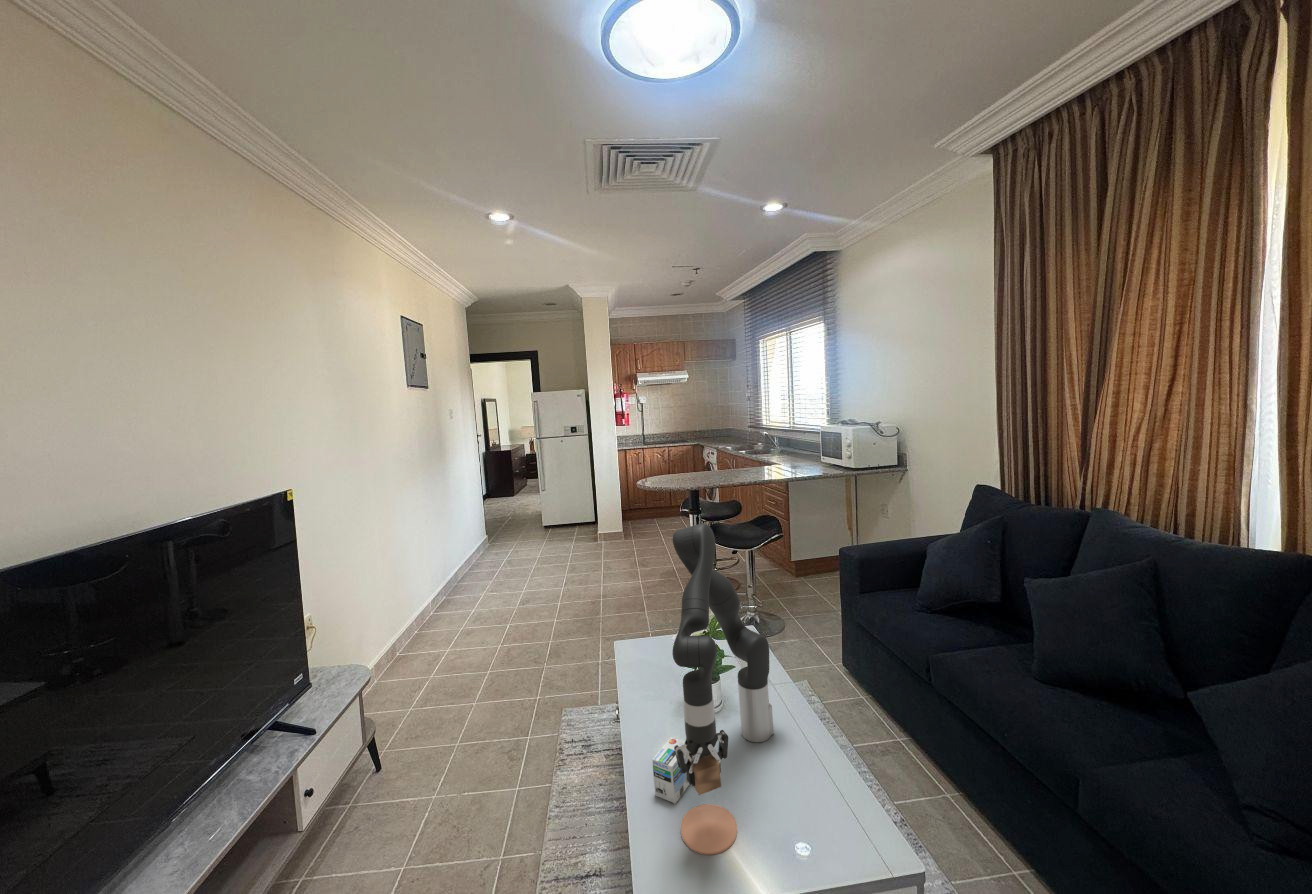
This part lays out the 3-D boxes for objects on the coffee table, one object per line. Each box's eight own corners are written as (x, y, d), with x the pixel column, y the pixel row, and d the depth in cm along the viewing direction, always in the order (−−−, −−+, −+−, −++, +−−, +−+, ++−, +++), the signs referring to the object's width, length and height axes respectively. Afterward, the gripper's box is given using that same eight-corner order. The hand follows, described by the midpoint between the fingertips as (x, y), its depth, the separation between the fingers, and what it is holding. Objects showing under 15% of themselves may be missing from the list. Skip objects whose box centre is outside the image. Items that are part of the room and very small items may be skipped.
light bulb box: (675, 804, 138) (672, 767, 137) (654, 796, 142) (651, 759, 141) (694, 778, 147) (691, 742, 146) (673, 770, 151) (670, 736, 150)
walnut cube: (710, 770, 132) (708, 748, 131) (721, 786, 126) (719, 763, 126) (688, 778, 130) (686, 756, 129) (699, 795, 124) (697, 771, 124)
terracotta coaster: (720, 800, 138) (720, 797, 138) (747, 841, 125) (747, 837, 125) (672, 819, 133) (671, 816, 133) (695, 863, 120) (695, 859, 120)
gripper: (718, 699, 132) (722, 760, 134) (666, 715, 127) (671, 779, 129) (733, 715, 125) (737, 780, 127) (678, 733, 120) (683, 800, 122)
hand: (704, 779), depth 128 cm, fingers closed on walnut cube, 6 cm apart
